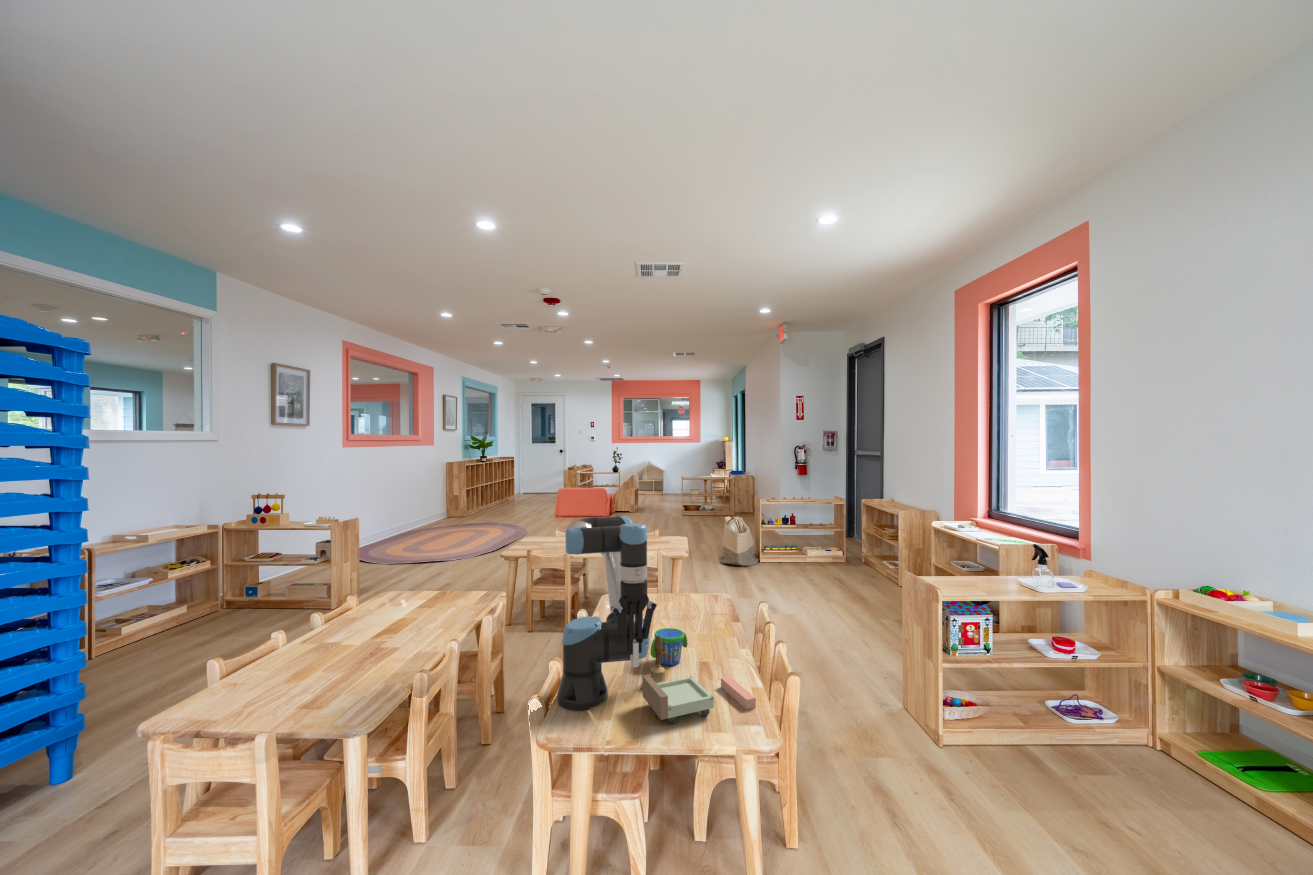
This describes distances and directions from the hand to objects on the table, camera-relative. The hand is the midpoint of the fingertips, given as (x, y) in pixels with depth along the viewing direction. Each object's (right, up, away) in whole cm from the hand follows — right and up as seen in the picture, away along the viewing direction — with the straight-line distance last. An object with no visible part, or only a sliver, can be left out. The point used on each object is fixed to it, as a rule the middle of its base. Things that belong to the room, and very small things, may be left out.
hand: (634, 665), depth 143 cm
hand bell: (+7, -16, +21) cm, 27 cm away
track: (+18, -16, +7) cm, 25 cm away
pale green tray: (+12, -15, +5) cm, 20 cm away
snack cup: (+11, -16, +39) cm, 44 cm away
